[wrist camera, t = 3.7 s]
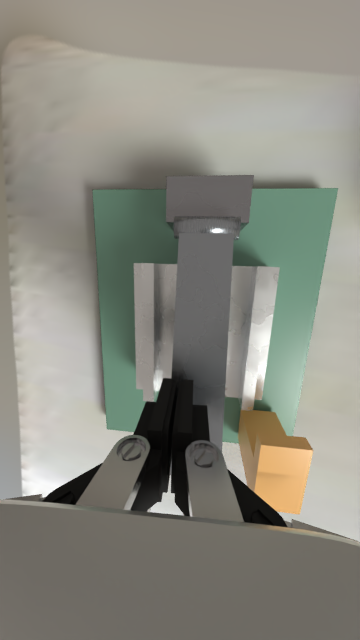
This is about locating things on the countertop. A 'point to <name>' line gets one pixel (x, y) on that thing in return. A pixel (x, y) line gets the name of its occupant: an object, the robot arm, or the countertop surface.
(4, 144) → the countertop surface
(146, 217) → the circuit board
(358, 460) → the countertop surface
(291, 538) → the robot arm
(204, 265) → the strap
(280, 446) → the block
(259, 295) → the heat sink
